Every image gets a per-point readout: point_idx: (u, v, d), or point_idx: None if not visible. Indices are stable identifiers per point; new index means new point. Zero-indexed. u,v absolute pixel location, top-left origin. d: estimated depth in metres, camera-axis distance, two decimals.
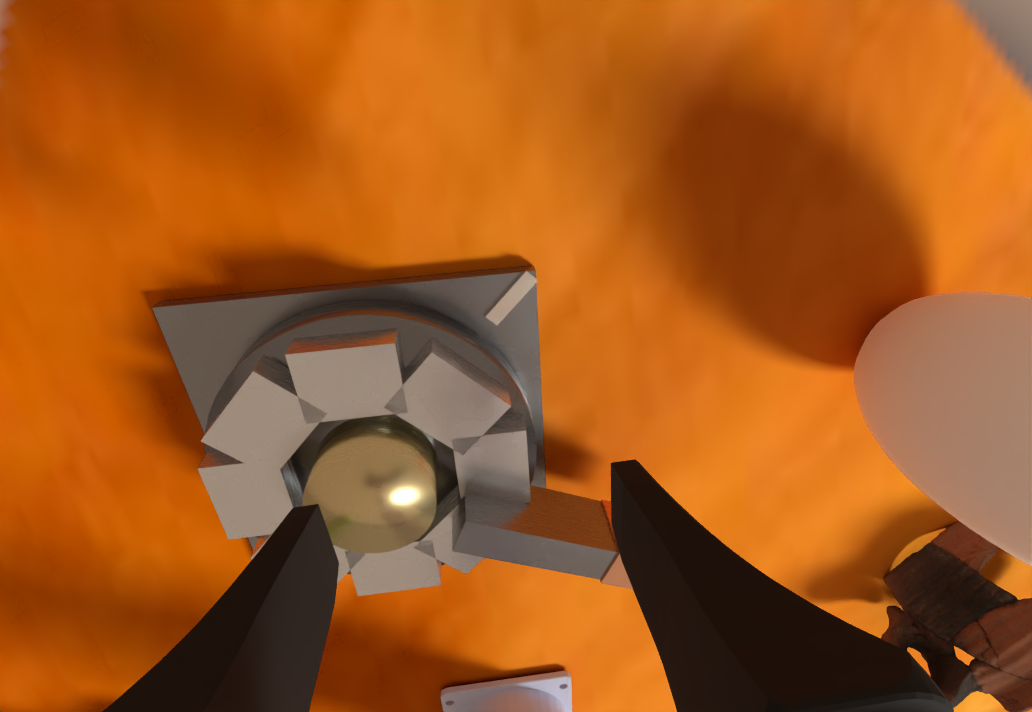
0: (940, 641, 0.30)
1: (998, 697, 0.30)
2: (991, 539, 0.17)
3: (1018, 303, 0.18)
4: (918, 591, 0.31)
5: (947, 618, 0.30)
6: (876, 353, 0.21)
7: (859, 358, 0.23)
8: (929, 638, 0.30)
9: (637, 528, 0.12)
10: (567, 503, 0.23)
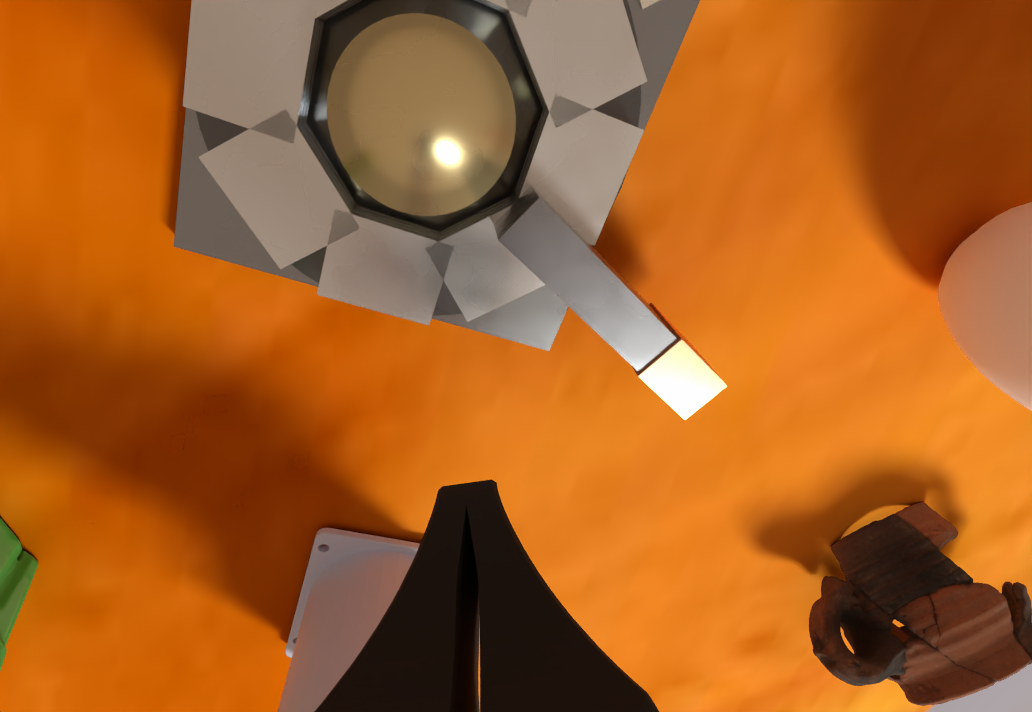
0: (880, 613, 0.28)
1: (915, 686, 0.28)
2: None
3: None
4: (870, 559, 0.29)
5: (895, 589, 0.28)
6: (1002, 230, 0.19)
7: (965, 246, 0.21)
8: (868, 609, 0.28)
9: None
10: (623, 278, 0.19)
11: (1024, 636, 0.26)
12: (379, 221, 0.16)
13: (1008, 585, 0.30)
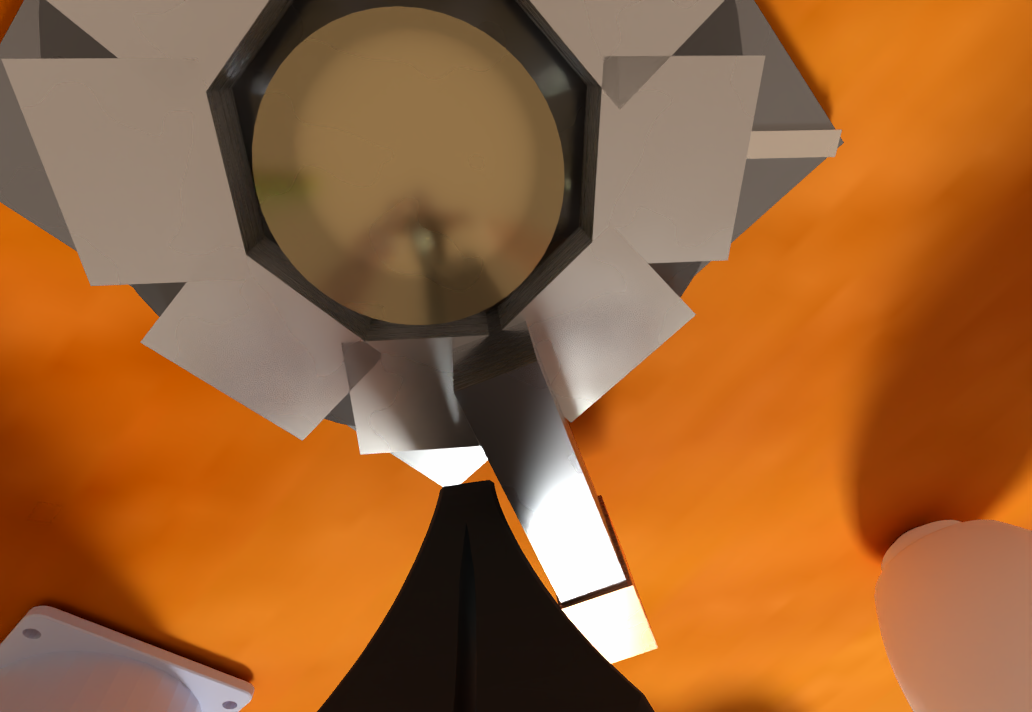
0: None
1: None
2: None
3: None
4: None
5: None
6: (978, 550, 0.17)
7: (929, 543, 0.18)
8: None
9: (471, 553, 0.12)
10: (584, 465, 0.14)
11: None
12: (286, 281, 0.10)
13: None
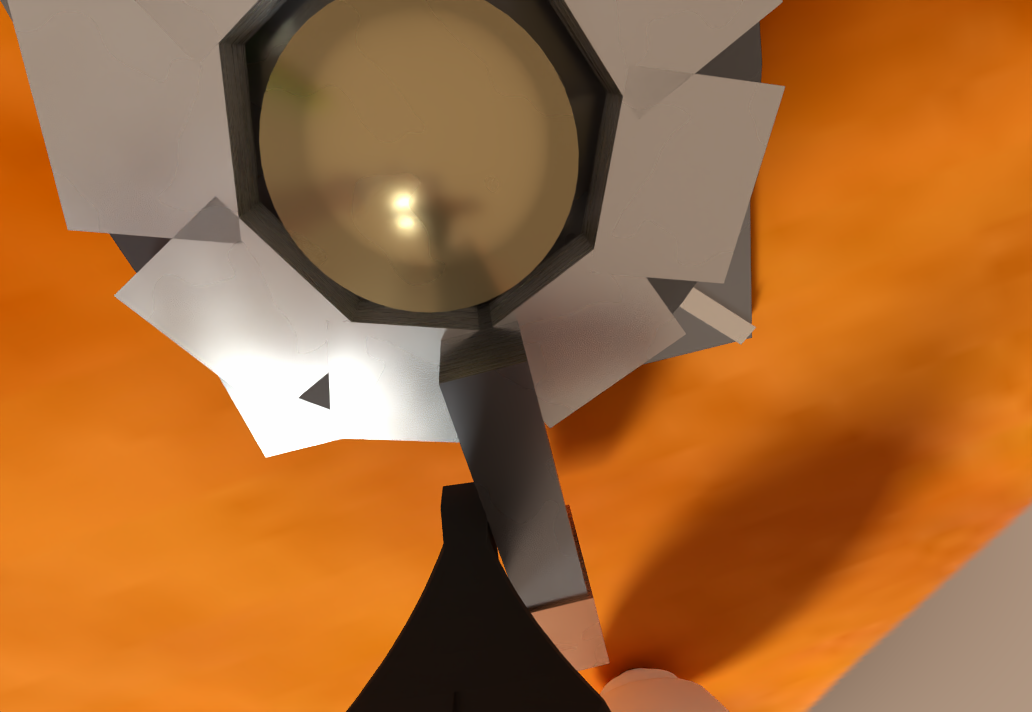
0: None
1: None
2: None
3: None
4: None
5: None
6: (681, 707, 0.19)
7: (648, 686, 0.20)
8: None
9: None
10: None
11: None
12: (277, 250, 0.10)
13: None
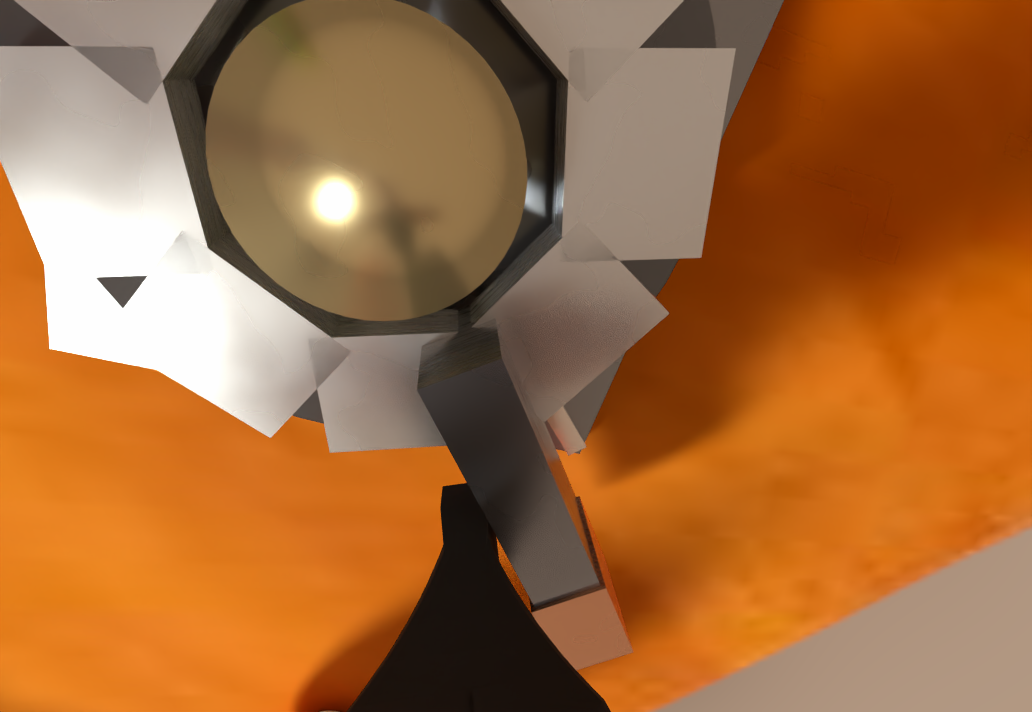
0: None
1: None
2: None
3: None
4: None
5: None
6: None
7: None
8: None
9: None
10: (560, 466, 0.14)
11: None
12: (250, 275, 0.10)
13: None
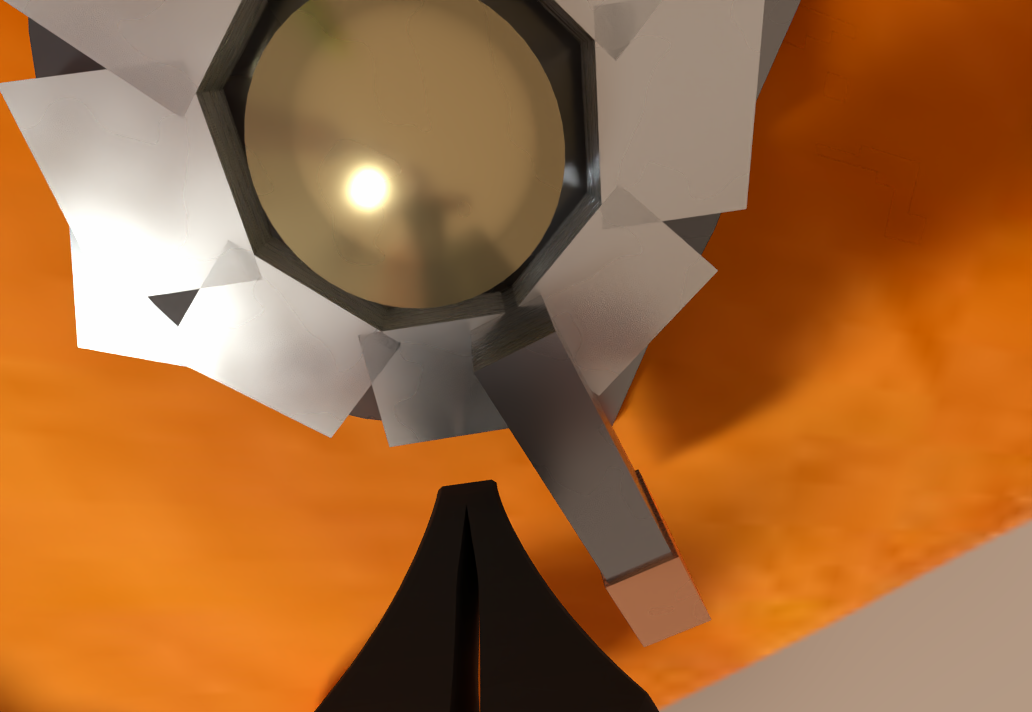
0: None
1: None
2: None
3: None
4: None
5: None
6: None
7: None
8: None
9: None
10: (617, 439, 0.13)
11: None
12: (297, 278, 0.10)
13: None
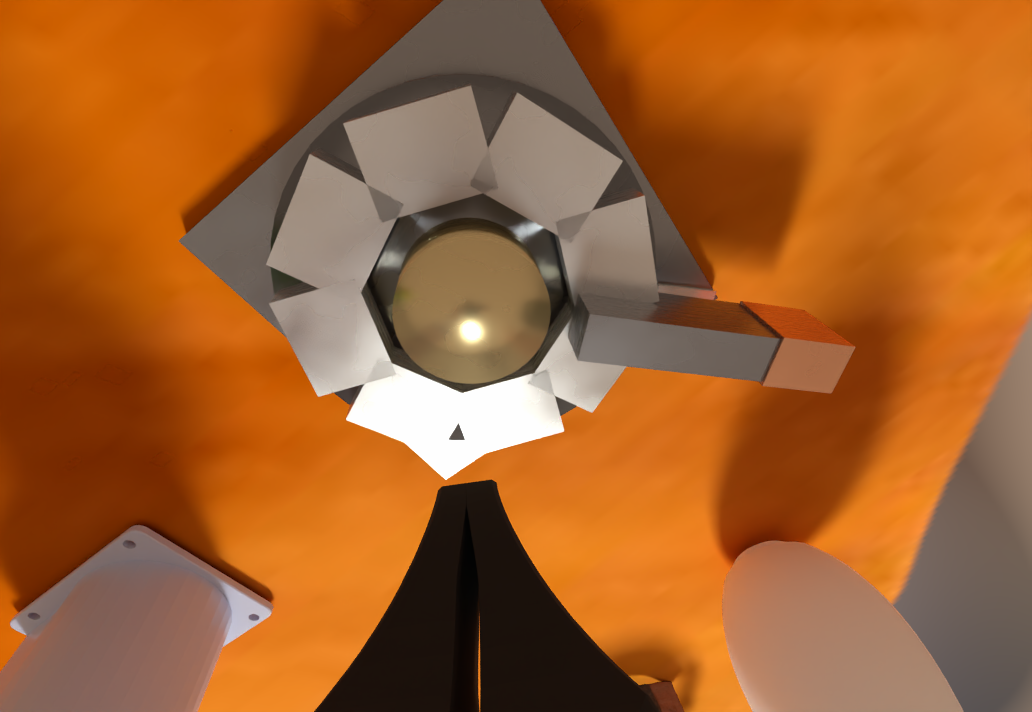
0: None
1: None
2: None
3: (886, 599, 0.25)
4: None
5: None
6: (784, 559, 0.26)
7: (759, 553, 0.27)
8: None
9: None
10: (701, 304, 0.19)
11: None
12: (484, 385, 0.19)
13: None
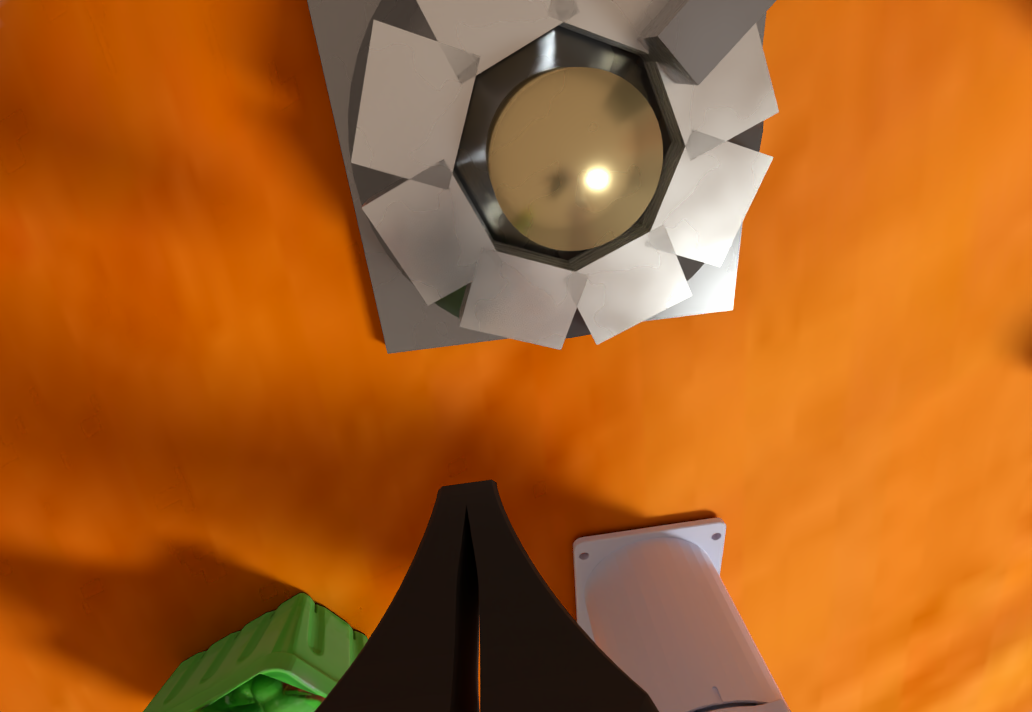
0: None
1: None
2: None
3: None
4: None
5: None
6: None
7: None
8: None
9: None
10: None
11: None
12: (659, 205, 0.17)
13: None
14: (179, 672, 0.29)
